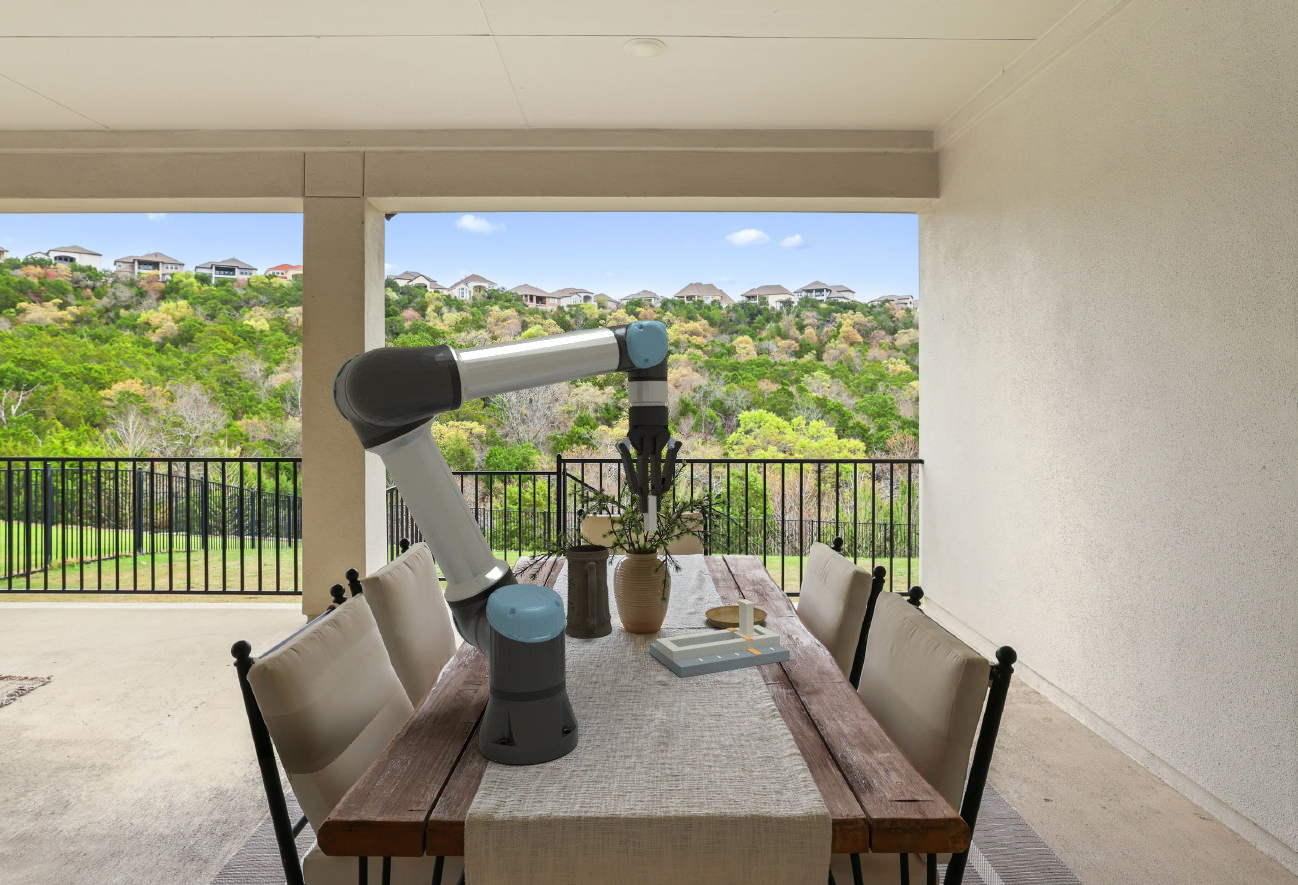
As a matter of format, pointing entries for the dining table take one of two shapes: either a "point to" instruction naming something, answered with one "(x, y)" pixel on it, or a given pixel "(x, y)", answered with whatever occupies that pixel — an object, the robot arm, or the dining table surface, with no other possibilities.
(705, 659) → the console
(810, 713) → the dining table surface
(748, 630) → the fader tab
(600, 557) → the beer stein
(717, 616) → the plant saucer
